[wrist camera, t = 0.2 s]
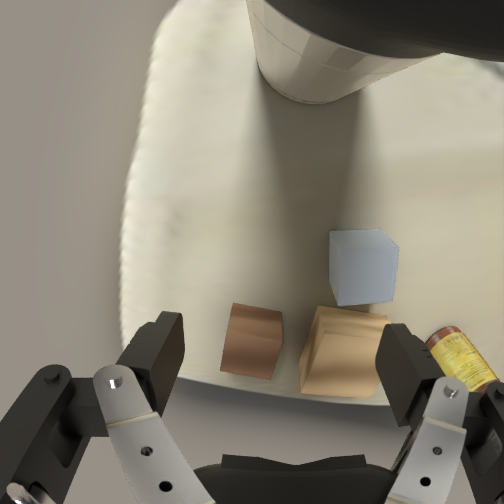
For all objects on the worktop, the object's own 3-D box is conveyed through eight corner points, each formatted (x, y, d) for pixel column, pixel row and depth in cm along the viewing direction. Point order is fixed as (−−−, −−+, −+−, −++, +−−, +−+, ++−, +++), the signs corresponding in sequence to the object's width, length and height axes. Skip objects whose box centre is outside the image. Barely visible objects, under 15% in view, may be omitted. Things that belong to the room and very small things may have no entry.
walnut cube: (233, 302, 31) (226, 331, 27) (281, 311, 31) (282, 341, 27) (226, 340, 33) (219, 370, 28) (270, 348, 33) (270, 379, 28)
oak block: (317, 304, 31) (324, 333, 26) (386, 314, 31) (401, 341, 26) (298, 362, 34) (300, 393, 29) (360, 368, 34) (370, 397, 29)
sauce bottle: (411, 356, 33) (471, 489, 14) (442, 316, 31) (526, 444, 12) (441, 367, 33) (499, 483, 15) (470, 332, 31) (546, 443, 13)
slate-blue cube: (329, 230, 28) (340, 250, 23) (380, 228, 27) (399, 247, 23) (328, 279, 30) (337, 306, 25) (376, 276, 29) (392, 301, 25)
